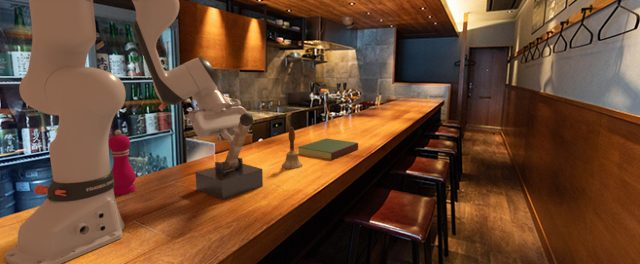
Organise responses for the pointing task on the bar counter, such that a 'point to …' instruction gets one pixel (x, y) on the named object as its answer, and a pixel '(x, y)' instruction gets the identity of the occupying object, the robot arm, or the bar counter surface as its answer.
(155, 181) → the bar counter surface
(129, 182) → the pepper mill
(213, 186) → the base
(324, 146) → the hardcover book
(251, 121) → the lever
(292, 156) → the hand bell
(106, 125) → the robot arm
